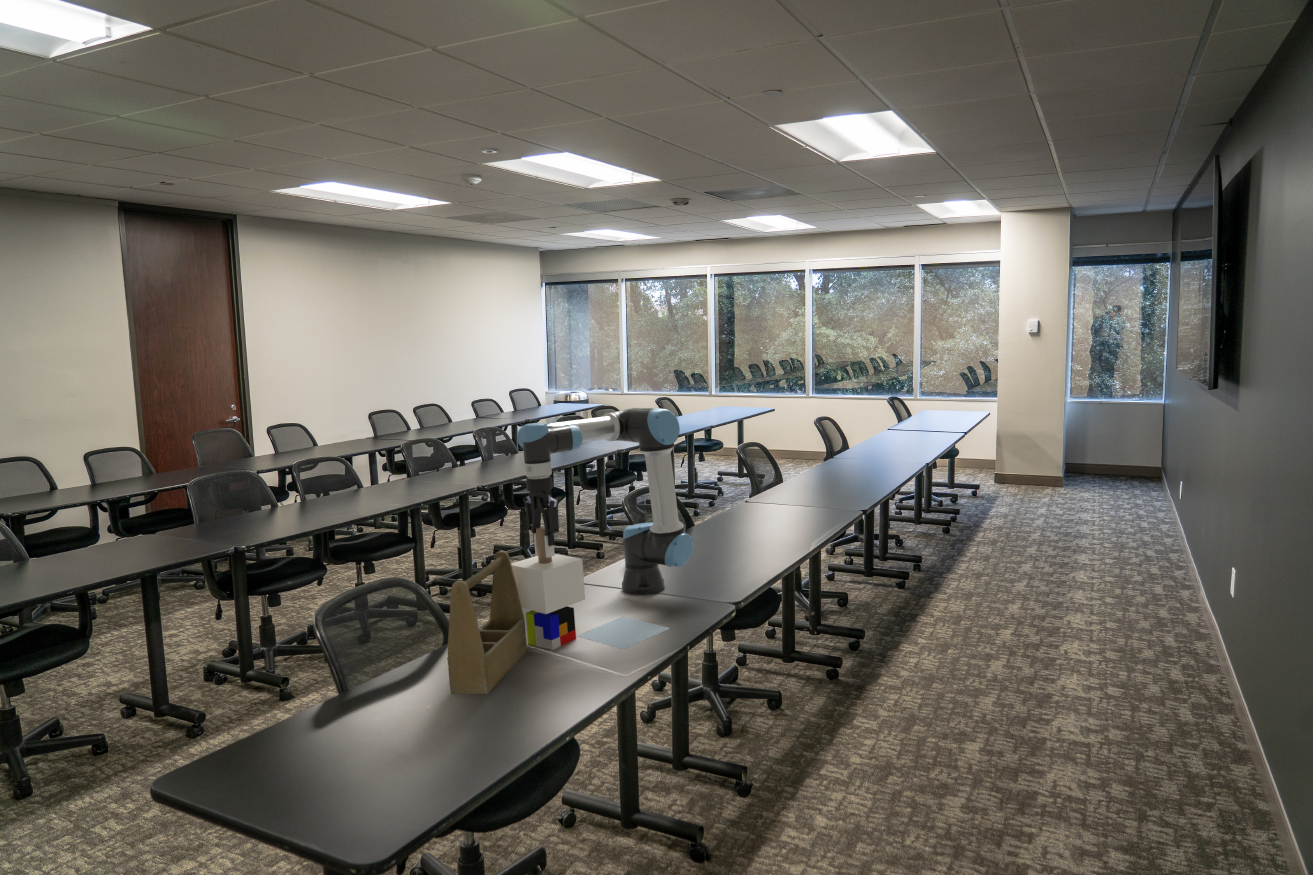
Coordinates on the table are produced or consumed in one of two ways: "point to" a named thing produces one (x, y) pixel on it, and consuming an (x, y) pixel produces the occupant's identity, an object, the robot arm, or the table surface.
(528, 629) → the puzzle toy
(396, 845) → the table surface
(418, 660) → the table surface
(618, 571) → the table surface
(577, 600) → the cover box
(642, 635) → the mat
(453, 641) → the caddy
